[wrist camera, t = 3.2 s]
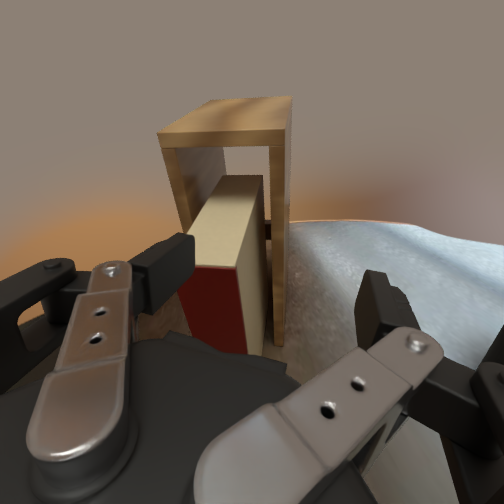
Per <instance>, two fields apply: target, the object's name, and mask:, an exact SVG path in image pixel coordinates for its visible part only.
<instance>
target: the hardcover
mask: <svg viewBox="0 0 504 504" xmlns="http://www.w3.org/2000/svg"><path fill="white" fill-rule="evenodd" d="M263 191H264V190H263V175H222V177H221V179H220V180H219V182H218V184H217V185H216V187H215V188H214V190H213V192H212V193H211V195H210V197H209V198H208V200H207V201H206V203H205V205H204V206H203V208H202V210H201V211H200V213H199V215H198V216H197V218H196V219H195V221H194V223H193V224H192V226H191V228H190V229H189V231H188V232H187V234H190V235H193V236H194V237H195V269H194V272H193V274H192V276H191V277H190V278H189V279H188V280H187V281H186V282H185V283H184V284H183V285H182V286H181V287H180V288H179V289H178V290H177V293H178V296H179V298H180V301H181V304H182V307H183V310H184V313H185V316H186V319H187V322H188V325H189V328H190V331H191V333H192V336H193V337H195V338H197V339H199V340H201V341H203V342H204V343H206V344H208V345H210V346H212V347H213V348H215V349H217V350H219V351H221V352H224V353H236V354H250V355H258V356H262V349H263V342H264V334H265V327H266V319H267V312H268V284H267V260H266V237H265V216H264V215H265V213H264V192H263Z"/></svg>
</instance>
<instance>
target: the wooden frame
mask: <svg viewBox="0 0 504 504" xmlns="http://www.w3.org/2000/svg"><path fill="white" fill-rule="evenodd" d="M291 116H292V96H279V97H260V98H242V99H222V100H210V101H209V102H207V103H205V104H203V105H202V106H200V107H199V108H197V109H195V110H194V111H192V112H190V113H189V114H187V115H185V116H184V117H182V118H180V119H179V120H177V121H175V122H174V123H172V124H171V125H169V126H167V127H165V128H164V129H162V130H161V131H159V132H157V136H158V139H159V143H160V147H161V151H162V154H163V158H164V161H165V165H166V169H167V173H168V177H169V180H170V184H171V188H172V191H173V195H174V199H175V202H176V206H177V210H178V214H179V218H180V221H181V225H182V229H183V232H184V234H187V232H188V231H189V229H190V228H191V226H192V224H193V223H194V221H195V219H196V218H197V216H198V215H199V213H200V211H201V210H202V208H203V206H204V205H205V203H206V201H207V200H208V198H209V197H210V195H211V193H212V192H213V190H214V188H215V187H216V185H217V184H218V182H219V180H220V179H221V177H222V175H226V168H225V160H224V151H223V147H233V146H269V163H270V199H271V200H270V201H271V220H265V237H266V240H271V241H272V279H273V317H274V346H283V341H284V327H285V312H286V297H287V282H288V251H289V206H290V160H291Z"/></svg>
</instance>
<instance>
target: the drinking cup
mask: <svg viewBox="0 0 504 504" xmlns="http://www.w3.org/2000/svg"><path fill="white" fill-rule="evenodd" d="M483 362H495V363H499V364H502V365H504V325H503V327H502V328H501V330H500V332H499V333H498V335H497V337H496V338H495V340H494V342H493V343H492V345H491V347H490V348H489V350H488V352H487V353H486V355H485V357H484V358H483V360H482V362H481V363H483ZM481 363H480V364H481Z"/></svg>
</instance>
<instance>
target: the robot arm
mask: <svg viewBox="0 0 504 504" xmlns="http://www.w3.org/2000/svg"><path fill="white" fill-rule="evenodd" d="M194 269H195V237H194V236H193V235H190V234H184V233H179V232H178V233H176V234H175V235H173V236H172V237H170V238H169V239H167V240H164V241H161V242H158V243H156V244H154V245H153V246H151V247H150V248H148V249H146V250H145V251H144V252H142V253H140V254H138V255H137V256H135V257H134V258H132V259H130V260H129V261H127V262H125V261H109V262H105V263H102V264H99V265H97V266H96V267H95V268H94V269H93V270H92V271H76V268H75V264H74V261H73V260H71V259H67V258H55V259H49V260H45V261H42V262H39V263H37V264H35V265H33V266H31V267H29V268H27V269H25V270H23V271H21V272H19V273H17V274H14V275H12V276H10V277H9V278H6V279H4V280H2V281H0V504H378V502H377V501H376V499H375V497H374V496H373V494H372V493H371V491H370V489H369V488H368V486H367V484H366V483H365V481H364V479H363V478H364V477H365V476H366V474H367V473H368V471H369V470H370V468H371V467H372V465H373V464H374V462H375V461H376V459H377V458H378V456H379V455H380V454H381V452H382V451H383V450H384V448H385V447H386V446H387V445H388V444H389V442H390V441H391V440H392V439H393V437H394V436H395V435H396V434H397V432H398V431H399V430H400V429H401V428H402V426H403V425H404V424H405V423H406V421H407V420H408V419H409V418H410V417H411V418H413V419H415V420H416V421H418V422H420V423H422V424H423V425H425V426H427V427H429V428H430V429H432V430H434V431H436V432H438V433H439V434H440V438H441V441H442V445H443V448H444V452H445V455H446V459H447V462H448V466H449V469H450V473H451V476H452V480H453V483H454V487H455V490H456V494H457V497H458V501H459V504H504V365H502V364H499V363H495V362H483V363H481V364H480V365H479V366H478V368H477V370H476V371H475V370H472V369H470V368H468V367H466V366H463V365H461V364H459V363H457V362H454V361H452V360H450V359H448V358H446V357H444V351H443V348H442V347H441V345H440V344H439V343H438V342H437V341H436V340H435V339H434V338H432V337H431V336H430V335H428V334H426V333H424V332H422V331H421V329H420V327H419V324H418V322H417V320H416V317H415V315H414V313H413V312H412V308H411V306H410V305H409V302H408V299H407V297H406V295H405V294H404V293H403V292H402V291H401V290H400V289H399V288H398V287H395V286H390V283H389V280H388V278H387V275H386V273H382V272H377V271H372V270H366V271H365V273H364V276H363V279H362V282H361V286H360V289H359V292H358V295H357V298H356V302H355V308H354V316H355V325H356V334H357V343H358V347H355V348H354V349H352V350H351V351H350V352H348V353H347V354H345V355H344V356H343V357H341V358H340V359H338V360H337V361H336V362H334V363H333V364H331V365H330V366H329V367H327V368H326V369H324V370H323V371H322V372H320V373H319V374H317V375H316V376H315V377H313V378H312V379H310V380H309V381H308V382H306V383H305V384H303V385H301V384H300V383H299V382H297V381H296V380H294V379H293V378H292V377H290V376H288V375H286V374H285V372H286V367H287V364H286V363H283V362H279V361H276V360H272V359H269V358H265V357H262V356H258V355H250V354H236V353H224V352H221V351H219V350H217V349H215V348H213V347H212V346H210V345H208V344H206V343H204V342H203V341H201V340H199V339H197V338H195V337H191V336H187V335H184V334H180V333H177V332H173V331H169V332H168V333H167V334H166V335H165V337H164V338H163V339H147V340H142V341H139V318H138V315H139V314H140V313H141V312H142V313H145V314H149V315H153V314H154V313H155V312H156V311H157V310H158V309H159V308H160V307H161V306H162V305H163V304H164V303H165V302H166V301H167V300H168V299H169V298H170V297H171V296H172V295H173V294H174V293H175V292H176V291H177V290H178V289H179V288H180V287H181V286H182V285H183V284H184V283H185V282H186V281H187V280H188V279H189V278H190V277H191V276H192V274H193V272H194ZM39 301H41V304H42V307H43V310H44V313H45V315H44V316H42V317H41V318H39V319H38V320H36V321H35V322H34V323H32V324H31V325H29V326H28V327H26V328H25V329H23V330H22V331H20V330H19V328H18V325H17V322H18V318H19V316H20V315H21V314H22V312H23V311H25V310H26V309H28V308H30V307H31V306H33V305H34V304H36V303H38V302H39ZM61 344H62V346H61V349H60V353H59V356H58V359H57V362H56V365H55V368H54V370H53V371H52V372H50V373H48V374H47V376H46V377H44V378H42V379H39V380H37V381H34V382H32V383H29V384H27V385H24V386H22V387H19V388H17V389H14V390H12V391H9V392H7V393H5V392H6V391H7V390H8V389H10V388H11V387H12V386H13V385H14V384H15V383H17V382H18V381H19V380H20V379H21V378H22V377H24V376H25V375H26V374H27V373H28V372H30V371H31V370H32V369H33V368H34V367H35V366H37V365H38V364H39V363H40V362H41V361H42V360H44V359H45V358H46V357H47V356H48V355H50V354H51V353H52V352H53V351H54V350H55V349H57V348H58V347H59V346H60V345H61Z"/></svg>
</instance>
